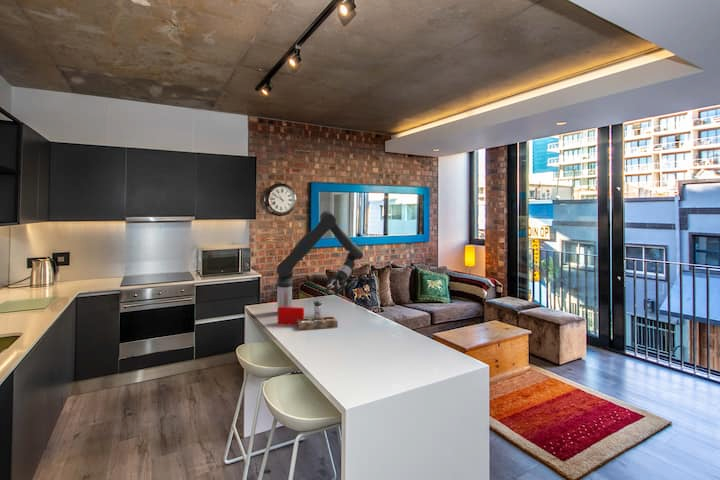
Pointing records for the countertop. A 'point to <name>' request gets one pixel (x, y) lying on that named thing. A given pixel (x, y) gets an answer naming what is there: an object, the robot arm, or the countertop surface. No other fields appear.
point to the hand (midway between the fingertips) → (330, 293)
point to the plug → (317, 309)
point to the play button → (290, 315)
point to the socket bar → (317, 323)
